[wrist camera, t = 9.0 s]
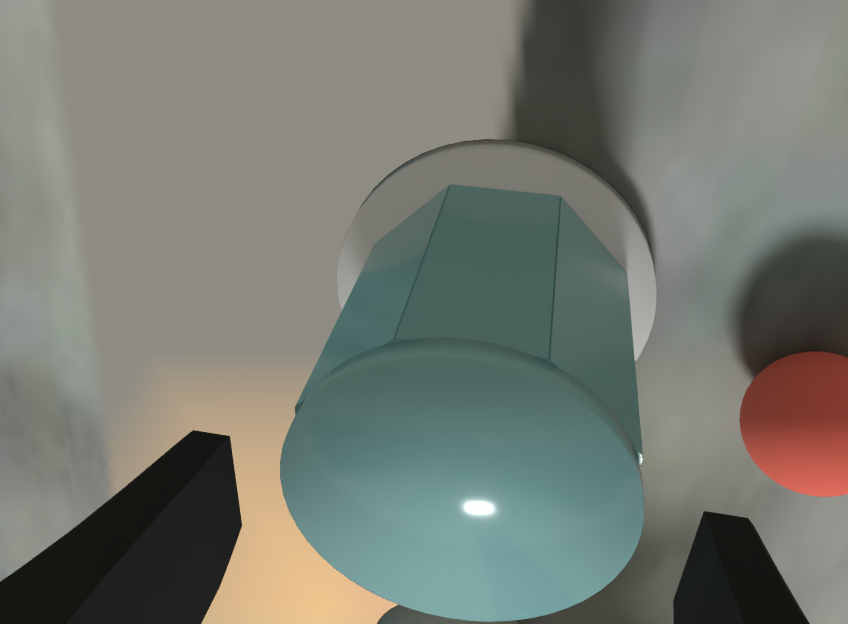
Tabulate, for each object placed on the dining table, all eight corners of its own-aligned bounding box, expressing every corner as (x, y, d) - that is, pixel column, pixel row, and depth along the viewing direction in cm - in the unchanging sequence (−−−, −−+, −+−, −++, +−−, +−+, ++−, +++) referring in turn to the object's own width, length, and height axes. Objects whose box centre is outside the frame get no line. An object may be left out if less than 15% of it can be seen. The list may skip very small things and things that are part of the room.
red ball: (831, 300, 16) (875, 388, 14) (900, 392, 17) (952, 490, 15) (703, 366, 18) (722, 457, 15) (774, 448, 19) (802, 546, 16)
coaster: (516, 67, 15) (514, 76, 14) (719, 315, 17) (723, 330, 16) (283, 261, 18) (275, 274, 18) (477, 448, 20) (474, 464, 20)
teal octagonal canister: (511, 126, 15) (472, 286, 10) (681, 325, 17) (722, 547, 12) (316, 280, 18) (210, 467, 13) (480, 438, 19) (443, 657, 14)
